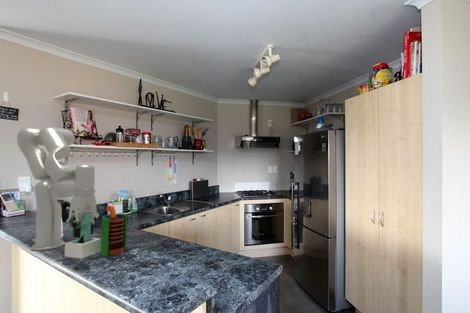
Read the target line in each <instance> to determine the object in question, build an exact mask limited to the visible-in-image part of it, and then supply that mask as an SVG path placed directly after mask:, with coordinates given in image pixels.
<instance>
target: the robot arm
mask: <svg viewBox="0 0 470 313" xmlns="http://www.w3.org/2000/svg"><path fill="white" fill-rule="evenodd" d="M75 138H76V137H75V134H74V132H73V131H72V130H70V129H67V128H62V127H61V128H60V127H53V126H46V127H45V126H44V127H43V128H38V127H24V128H21V129H20V130H19V131H18V132H17V135H16V140H17V141H16V143H17V145H18V148H19V150H20V152H21V153H22V154H23V156H24V157H25V159H26V163H27V164H28V167H29V170H30V172H31V174H32V177H33V178H34V180H36V181H38V182H37V183H36V184H35V186H34V189H33V190H34V197H35V202H36V219H35V221H36V222H35V224H36V225H35V227H36V228H35V238H32V240H31V241H32V242H34V244H33V245H32V246H31V247H30V249H31V250H32V251H36V252H37V251H38V252H39V251H48V250H53V249H57V248H61V247H63V246H65V243H66V242H65V241H64V240H62V214H63V212H62V205H61V204H60V202H58V199H66V198H71V199H70V204H69V211H68V218H67V219H66V221H65V223H66V224H68V225H69V226H70V227H71V228H72V229H73V230H72V233H73V236H72V237H73V238H74V239H76V238H80V232H81V229H80V228H79V226H80V223H81V221H82V220H83V219H84V216H85V212H86V210H88V209H90V211H91V235H93V234H94V225H95V222H96V221H97V219H98V218H99V216H100V213H98V211H97V210H98V209H97V198H96V196H95V193H96V189H95V177H96V176H95V174H96V173H95V170H96V169H95V166H94V165H91V164H68V163H67V162H64V161H58V160H61V159H64V158H66V157H67V156H69V154H70V153H71V147H70V146H72V145H73V144H74V143H75ZM40 146H43V147H44V148H45V150H44V149H43V148H42V147H40ZM47 152H48V153H47ZM76 223H77V224H76Z"/></svg>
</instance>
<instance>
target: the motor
mask: <svg viewBox="0 0 470 313" xmlns="http://www.w3.org/2000/svg"><path fill="white" fill-rule="evenodd" d="M105 211H106V212H109V214H105V215H104V216H101V230H100V232H101V233H100V234H101V235H100V236H101V238H100V239H101V251H100V256H102V257H110V256H117V255H120V254H123V253H124V251H126V250H127V235H128V234H127V232H128V214H125V213H116V209H115V206H114V205H107V206H106V208H105Z"/></svg>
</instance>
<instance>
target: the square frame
mask: <svg viewBox="0 0 470 313" xmlns="http://www.w3.org/2000/svg"><path fill="white" fill-rule="evenodd" d="M97 253H101V238H98V237H91V241H89V242H86V243H83V244H81V243H76V239H75V240H71V241H67V242H65V244H64V257H65V258H74V259H84V258H87V257H90V256H92V255H95V254H97Z"/></svg>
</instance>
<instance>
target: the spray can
mask: <svg viewBox="0 0 470 313" xmlns="http://www.w3.org/2000/svg"><path fill="white" fill-rule="evenodd" d="M76 224H77V223H76ZM79 228H80V229H81V232H80V238H75V240H76V243H81V244H83V243H86V242H89V241H91V238H92V234H91V211H90V209H88V210H86V212H85V216H84V219H83V220H82V221H81V223H80V226H79Z"/></svg>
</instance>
